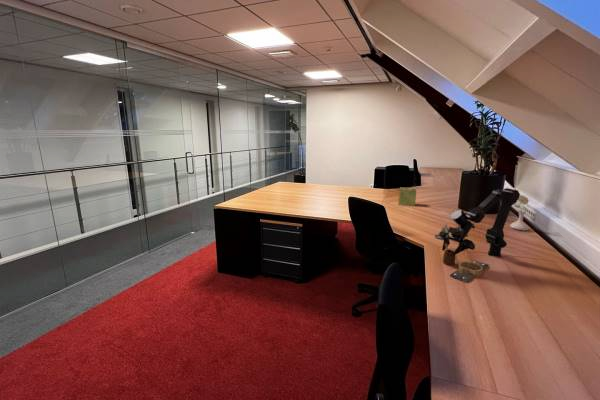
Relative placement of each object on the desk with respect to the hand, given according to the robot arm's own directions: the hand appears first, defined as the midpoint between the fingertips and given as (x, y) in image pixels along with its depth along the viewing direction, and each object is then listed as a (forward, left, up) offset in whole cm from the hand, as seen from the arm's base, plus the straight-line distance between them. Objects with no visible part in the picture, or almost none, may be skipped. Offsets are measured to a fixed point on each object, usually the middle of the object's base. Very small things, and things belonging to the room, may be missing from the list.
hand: (448, 252), depth 162 cm
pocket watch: (-42, -7, -7) cm, 43 cm away
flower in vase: (-90, +38, -7) cm, 98 cm away
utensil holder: (-1, +1, -7) cm, 7 cm away
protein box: (-125, -48, -7) cm, 134 cm away
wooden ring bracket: (+4, +11, -7) cm, 14 cm away
